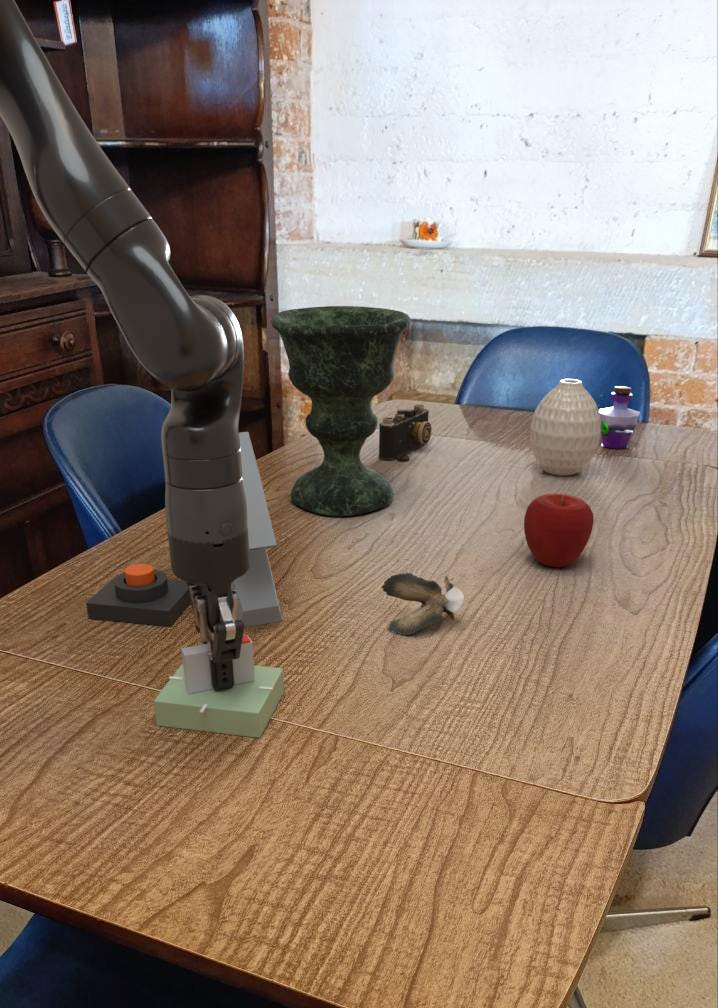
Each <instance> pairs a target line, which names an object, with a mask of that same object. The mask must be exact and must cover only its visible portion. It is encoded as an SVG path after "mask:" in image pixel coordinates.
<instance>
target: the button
mask: <svg viewBox="0 0 718 1008" xmlns="http://www.w3.org/2000/svg"><path fill="white" fill-rule="evenodd" d="M154 570H155V568H154V567H153V565H151V564H147V563H136V564H132V565H129V566H127V567H126V568H125V569H124V573H125V577H126V584H127V585H129V586H144V585H148V584H151V583H154V582H155V575H154Z"/></svg>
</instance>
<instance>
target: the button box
mask: <svg viewBox="0 0 718 1008" xmlns="http://www.w3.org/2000/svg"><path fill="white" fill-rule="evenodd" d="M154 575H155V582H154V583H151V584H148V585H144V586H129V585H127V584H126V577H125V572H123V573H119V574H116V575H115V576H114V577H112V579H110V580H109V581H108V582H107V583H106V584H104V586H103V587H102V588H101V589H100V590H98V591H97V593H96V594H94V595H93V596H91V598H90V599H88V601H87V602H86V603H85V604H86V610H87V617H88V619H91V620H100V621H101V620H102V621H111V622H120V623H130V624H140V625H150V626H161V627H172V626H173V625H174V623H175V622H176V621H177V620H178V619H179V618H180V617H181V615H182V614H183V613H184V612H185V611H186V609H187V608H188V607H189V606H190V605H191V604H192V603H191V598H190V592H189V587H188V585H187V582H186V581H183V580H181V579H173V578H172V579H171V578H168V577H167V574H166V573H165V572H163V571H161V570H158V569H154Z"/></svg>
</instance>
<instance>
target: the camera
mask: <svg viewBox="0 0 718 1008" xmlns="http://www.w3.org/2000/svg"><path fill="white" fill-rule="evenodd" d="M429 413H430V410H429V409H428V408H425V405H424V404H414V405H413V408H412V409H397V411H396V413H395V414H394V417H389V416H388V417H387V416H386V417H383V418H382V422H380V423H379V424H378V425H379V426H378V427H379V428H378V429H379V431H378V432H379V434H378V435H379V436H378V437H379V438H378V459H379V460H381V461H385V462H386V461H388V462H390V461H394V460H396V459H397V461H399V462H408V461H409V460H410V454H412V451H414V450H417V449H419V448H421V447H423V446H425V445H427V444H428V443H429V441H430V439H431V436H432V430H433V429H432V424H431V422H429V416H430V415H429Z"/></svg>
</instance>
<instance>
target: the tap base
mask: <svg viewBox="0 0 718 1008" xmlns="http://www.w3.org/2000/svg"><path fill="white" fill-rule="evenodd" d="M254 673H255V681H250V682H245V683H240V684H235V685H234V686H233V687H232V688H229V689H224V690H219V691H216V690H214V689H211V690H206V691H201V692H196V693H191V694H189V693H188V691H187V689H186V687H185V679H184V670H183V662H182V663H181V664H180V666H179V667H178V669H177V670H176V671H175V672H174V674H173V675H172V676H171V675H170V676H168V681H167V683H166V684H165V686H164V687H163V688H162V689H161V690H160V692H159V693H158V694H157V696H156V697H155V698H154V699H153V708H154V716H155V724H156V726H157V727H166V728H172V729H173V728H174V729H180V730H190V731H199V732H206V733H216V734H223V735H230V736H231V735H232V736H239V737H240V736H241V737H249V738H257V739H260V738H261V737H262V735H263V733H264V731H265V729H266V727H267V726H268V723H269V721H270V720H271V718H272V716H273V714H274V712H275V710H276V708H277V706H278V705H279V703H280V700H281V699H282V698H283V695H284V693H285V679H284V676H285V675H284V668H282V667H273V666H264V665H263V666H262V665H255V664H254Z"/></svg>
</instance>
